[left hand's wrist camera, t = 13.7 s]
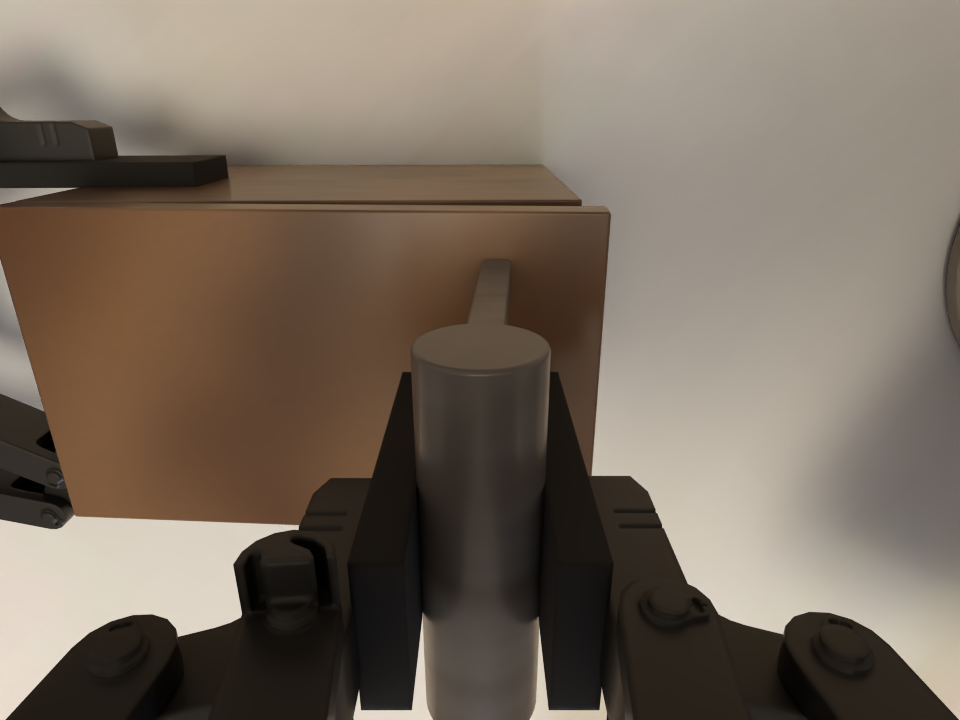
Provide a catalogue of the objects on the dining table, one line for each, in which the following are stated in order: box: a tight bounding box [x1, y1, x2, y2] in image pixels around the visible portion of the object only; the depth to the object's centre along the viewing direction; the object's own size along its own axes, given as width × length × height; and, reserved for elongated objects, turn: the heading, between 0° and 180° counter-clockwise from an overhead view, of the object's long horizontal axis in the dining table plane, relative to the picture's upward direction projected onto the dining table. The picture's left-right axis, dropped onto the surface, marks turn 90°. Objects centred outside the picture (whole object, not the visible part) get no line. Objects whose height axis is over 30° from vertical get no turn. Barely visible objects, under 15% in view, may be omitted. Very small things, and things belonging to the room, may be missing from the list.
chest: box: [15, 165, 582, 206], centre depth 23 cm, size 15×9×10 cm, turn 90°
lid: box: [0, 202, 611, 720], centre depth 14 cm, size 16×9×8 cm, turn 90°
